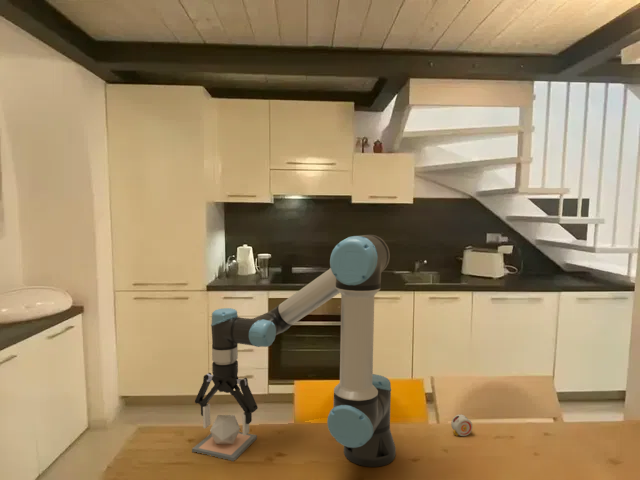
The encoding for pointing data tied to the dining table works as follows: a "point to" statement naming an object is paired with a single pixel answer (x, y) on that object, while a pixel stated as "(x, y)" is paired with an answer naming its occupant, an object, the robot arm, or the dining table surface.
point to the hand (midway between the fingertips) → (226, 429)
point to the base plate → (225, 446)
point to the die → (225, 429)
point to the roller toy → (461, 425)
